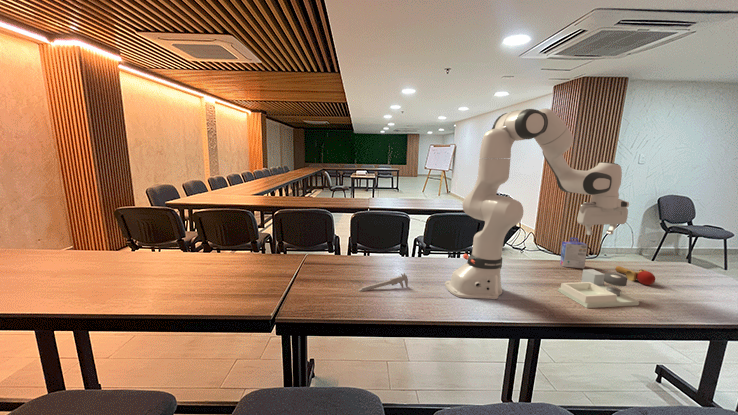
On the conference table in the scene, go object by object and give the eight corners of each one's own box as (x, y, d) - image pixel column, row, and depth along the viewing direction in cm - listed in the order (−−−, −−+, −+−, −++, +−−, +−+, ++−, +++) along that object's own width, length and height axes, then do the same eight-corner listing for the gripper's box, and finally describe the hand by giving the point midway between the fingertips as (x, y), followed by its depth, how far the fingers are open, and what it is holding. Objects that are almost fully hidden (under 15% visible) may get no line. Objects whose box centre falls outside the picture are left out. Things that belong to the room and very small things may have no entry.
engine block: (592, 288, 130) (594, 274, 129) (581, 282, 136) (583, 269, 135) (603, 287, 130) (605, 274, 129) (591, 282, 136) (593, 269, 135)
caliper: (406, 286, 127) (407, 272, 126) (407, 287, 126) (408, 273, 125) (358, 290, 122) (358, 275, 121) (359, 291, 121) (359, 276, 120)
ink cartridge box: (580, 265, 158) (584, 237, 156) (585, 268, 153) (589, 240, 150) (558, 263, 160) (562, 236, 158) (563, 267, 155) (567, 239, 152)
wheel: (615, 286, 117) (616, 280, 116) (599, 279, 123) (600, 273, 123) (631, 286, 118) (632, 279, 117) (614, 278, 124) (615, 272, 124)
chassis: (586, 307, 112) (588, 297, 111) (558, 291, 126) (559, 282, 125) (638, 305, 115) (640, 295, 115) (605, 289, 129) (606, 280, 128)
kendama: (608, 274, 150) (641, 284, 132) (611, 261, 150) (645, 270, 132) (623, 277, 150) (659, 288, 132) (626, 264, 150) (662, 273, 132)
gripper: (587, 203, 122) (583, 237, 125) (633, 203, 125) (627, 235, 128) (575, 201, 129) (571, 233, 131) (618, 200, 131) (613, 232, 134)
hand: (599, 234), depth 129 cm, fingers open, 8 cm apart
